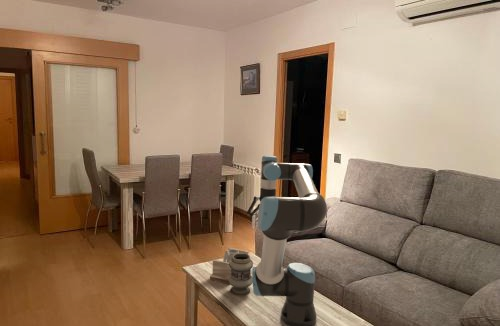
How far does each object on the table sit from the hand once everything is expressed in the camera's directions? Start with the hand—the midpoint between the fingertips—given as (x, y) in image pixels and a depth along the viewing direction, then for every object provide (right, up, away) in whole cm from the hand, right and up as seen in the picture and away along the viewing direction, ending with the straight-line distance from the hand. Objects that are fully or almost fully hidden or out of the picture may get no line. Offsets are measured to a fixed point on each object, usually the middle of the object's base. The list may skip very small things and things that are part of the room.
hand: (266, 230), depth 174 cm
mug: (-19, -26, +21) cm, 39 cm away
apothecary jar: (-13, -30, +1) cm, 33 cm away
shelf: (-19, -27, +21) cm, 39 cm away
